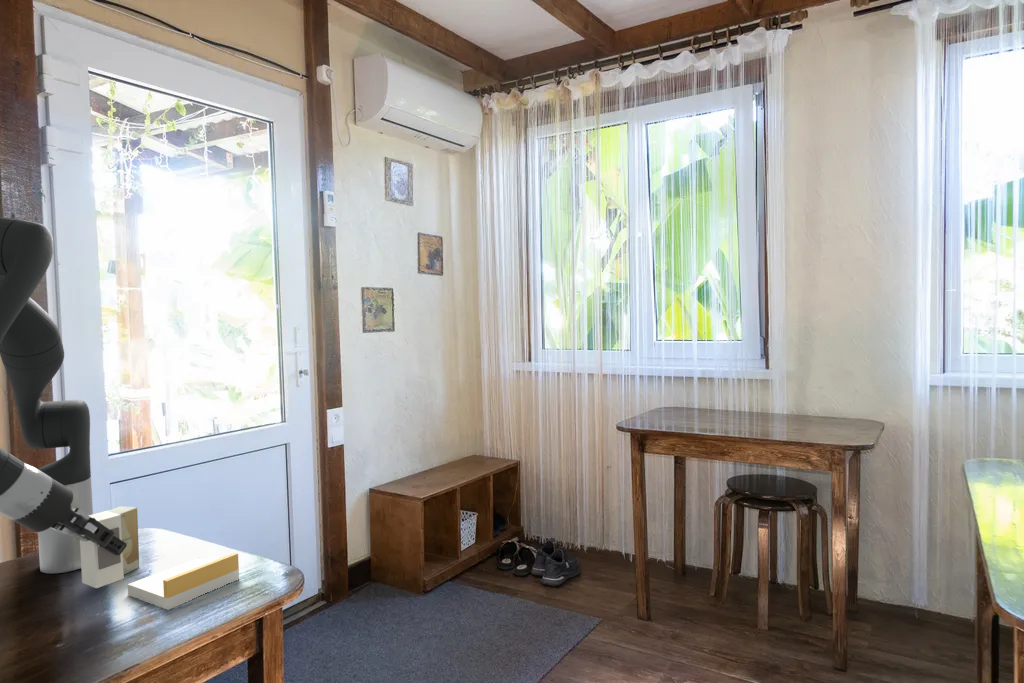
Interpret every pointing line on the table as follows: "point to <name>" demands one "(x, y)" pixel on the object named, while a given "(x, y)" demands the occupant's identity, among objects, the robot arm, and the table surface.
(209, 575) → the shelf board
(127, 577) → the table surface
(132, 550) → the skincare box
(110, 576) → the product carton
